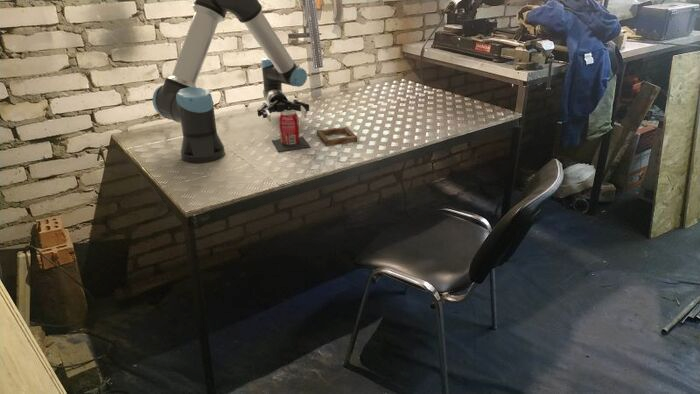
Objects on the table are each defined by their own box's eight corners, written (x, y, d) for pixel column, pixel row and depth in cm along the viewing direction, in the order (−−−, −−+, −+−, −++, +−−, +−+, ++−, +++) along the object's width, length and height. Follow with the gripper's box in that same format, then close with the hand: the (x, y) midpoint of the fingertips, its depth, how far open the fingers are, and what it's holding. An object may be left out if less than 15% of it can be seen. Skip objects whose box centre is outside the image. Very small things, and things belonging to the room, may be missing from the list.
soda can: (291, 138, 198) (289, 108, 193) (303, 143, 194) (302, 112, 188) (277, 143, 194) (274, 112, 188) (289, 148, 189) (286, 116, 184)
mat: (278, 152, 187) (278, 151, 187) (272, 141, 197) (272, 140, 197) (310, 147, 190) (310, 146, 190) (302, 137, 201) (302, 136, 200)
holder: (325, 146, 192) (325, 141, 191) (316, 135, 202) (316, 130, 202) (357, 141, 195) (357, 136, 194) (346, 131, 206) (346, 126, 205)
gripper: (307, 106, 216) (320, 121, 198) (247, 113, 210) (255, 129, 192) (306, 89, 213) (319, 102, 195) (245, 95, 206) (253, 109, 188)
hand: (287, 116), depth 193 cm, fingers open, 13 cm apart
